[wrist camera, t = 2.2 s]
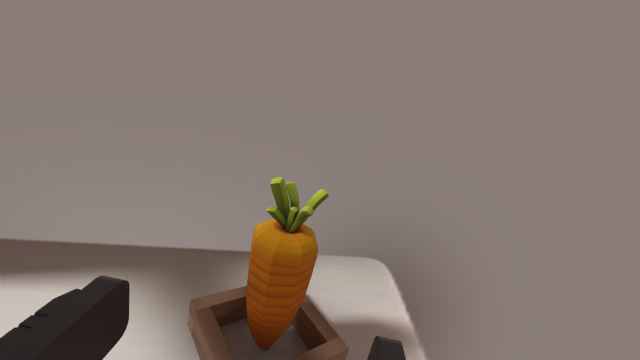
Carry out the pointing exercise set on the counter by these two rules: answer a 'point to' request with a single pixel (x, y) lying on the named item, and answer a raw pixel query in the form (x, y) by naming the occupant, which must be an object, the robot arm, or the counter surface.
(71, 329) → the robot arm
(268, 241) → the carrot
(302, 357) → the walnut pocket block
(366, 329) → the counter surface
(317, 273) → the counter surface
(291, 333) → the counter surface
